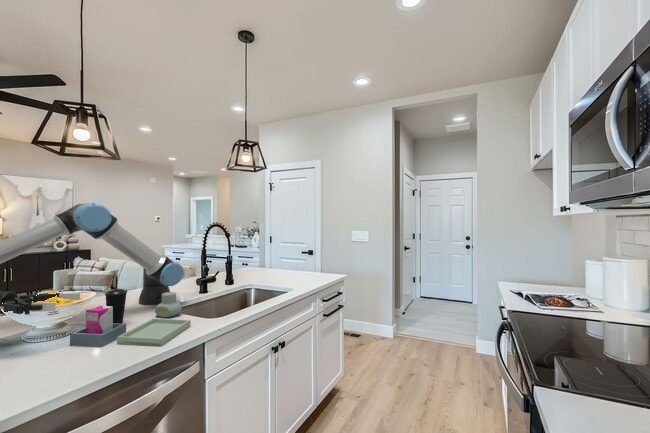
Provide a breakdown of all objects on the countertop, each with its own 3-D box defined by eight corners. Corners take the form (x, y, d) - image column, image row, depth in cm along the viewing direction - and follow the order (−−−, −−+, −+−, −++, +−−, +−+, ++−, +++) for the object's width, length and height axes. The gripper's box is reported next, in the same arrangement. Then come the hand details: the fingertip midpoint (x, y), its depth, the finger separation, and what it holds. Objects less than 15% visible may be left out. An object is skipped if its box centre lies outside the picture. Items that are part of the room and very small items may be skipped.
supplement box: (100, 335, 113) (101, 305, 113) (113, 337, 112) (114, 306, 112) (84, 341, 108) (85, 309, 108) (98, 343, 106) (99, 310, 106)
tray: (153, 324, 126) (153, 318, 126) (190, 326, 125) (190, 320, 125) (116, 344, 106) (116, 336, 106) (160, 346, 105) (161, 339, 105)
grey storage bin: (97, 333, 116) (97, 322, 116) (125, 334, 115) (126, 323, 115) (69, 345, 104) (70, 333, 105) (101, 347, 104) (101, 335, 104)
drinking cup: (115, 329, 120) (116, 278, 120) (98, 328, 121) (100, 277, 121) (131, 323, 127) (132, 275, 127) (115, 321, 129) (116, 274, 129)
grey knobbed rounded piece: (151, 317, 136) (151, 294, 136) (164, 311, 144) (165, 290, 144) (172, 319, 133) (173, 296, 133) (185, 313, 141) (185, 292, 141)
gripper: (24, 304, 116) (87, 302, 120) (-40, 326, 91) (42, 323, 95) (25, 284, 116) (88, 283, 120) (-39, 301, 92) (43, 299, 96)
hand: (68, 301), depth 108 cm, fingers open, 13 cm apart
